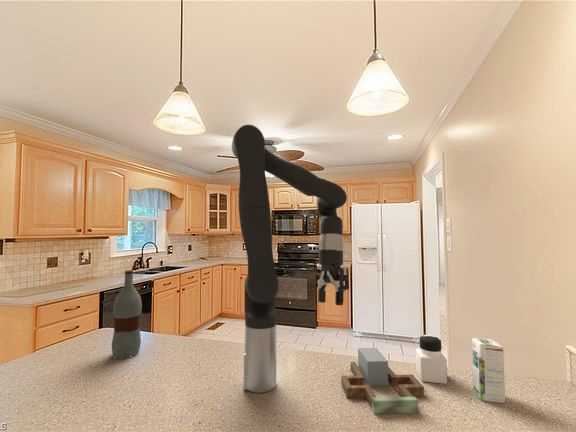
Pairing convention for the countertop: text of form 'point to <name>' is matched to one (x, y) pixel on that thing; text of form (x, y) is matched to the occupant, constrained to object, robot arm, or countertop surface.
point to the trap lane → (405, 403)
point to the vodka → (127, 320)
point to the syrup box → (488, 370)
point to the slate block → (373, 366)
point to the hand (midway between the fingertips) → (330, 303)
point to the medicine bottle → (431, 360)
